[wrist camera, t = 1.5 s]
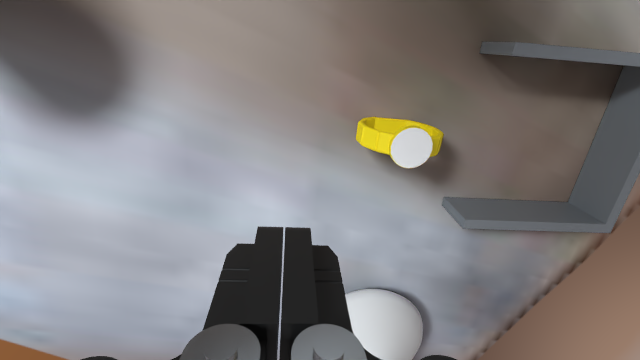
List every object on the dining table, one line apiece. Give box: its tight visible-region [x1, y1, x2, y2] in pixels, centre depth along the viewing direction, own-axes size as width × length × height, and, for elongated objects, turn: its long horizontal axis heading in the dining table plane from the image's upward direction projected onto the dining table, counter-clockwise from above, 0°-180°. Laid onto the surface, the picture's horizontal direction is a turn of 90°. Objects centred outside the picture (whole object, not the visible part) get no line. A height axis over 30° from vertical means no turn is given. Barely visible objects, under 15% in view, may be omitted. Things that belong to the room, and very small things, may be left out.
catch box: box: [442, 42, 640, 233], centre depth 26 cm, size 14×13×4 cm
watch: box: [356, 117, 444, 168], centre depth 24 cm, size 6×3×6 cm, turn 84°
